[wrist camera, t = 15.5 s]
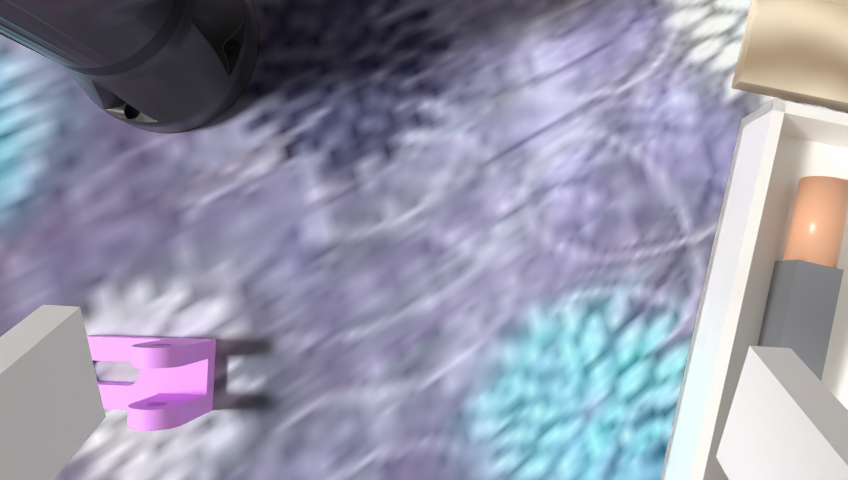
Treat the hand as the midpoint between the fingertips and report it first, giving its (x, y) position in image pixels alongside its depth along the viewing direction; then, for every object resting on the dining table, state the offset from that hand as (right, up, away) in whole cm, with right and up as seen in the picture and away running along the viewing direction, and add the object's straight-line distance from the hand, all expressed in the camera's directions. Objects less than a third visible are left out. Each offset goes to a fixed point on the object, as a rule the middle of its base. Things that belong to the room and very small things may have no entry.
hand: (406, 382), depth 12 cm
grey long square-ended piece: (+26, -5, +30) cm, 40 cm away
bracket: (-23, -8, +36) cm, 43 cm away
